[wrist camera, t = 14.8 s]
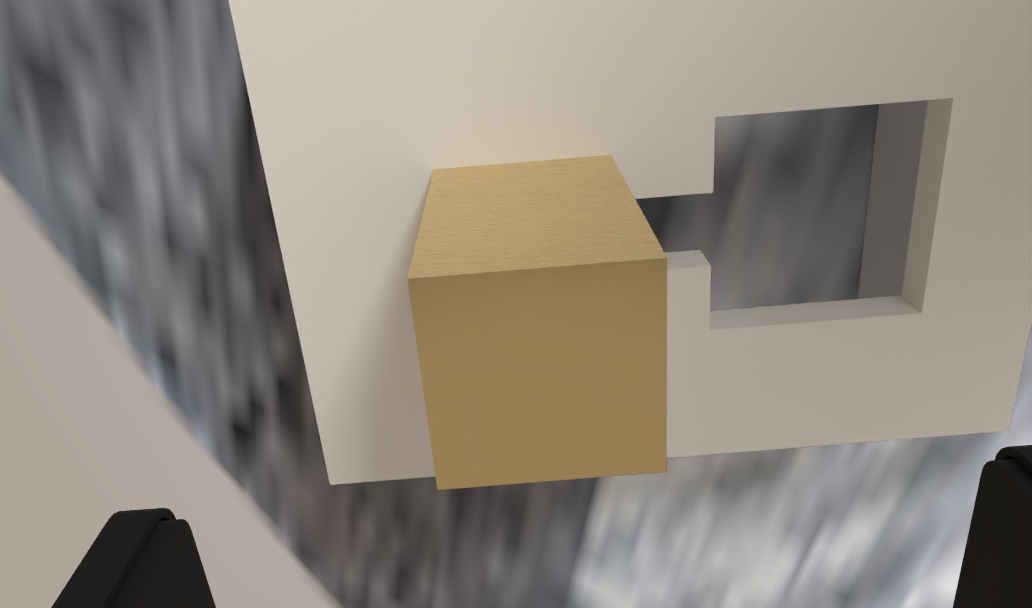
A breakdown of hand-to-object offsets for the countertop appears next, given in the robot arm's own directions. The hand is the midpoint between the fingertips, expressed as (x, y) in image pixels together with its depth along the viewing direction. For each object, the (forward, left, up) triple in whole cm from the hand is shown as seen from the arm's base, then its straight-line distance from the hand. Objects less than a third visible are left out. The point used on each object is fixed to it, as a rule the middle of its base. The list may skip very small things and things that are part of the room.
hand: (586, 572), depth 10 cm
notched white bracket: (-3, 0, -19) cm, 20 cm away
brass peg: (0, 0, -16) cm, 16 cm away
